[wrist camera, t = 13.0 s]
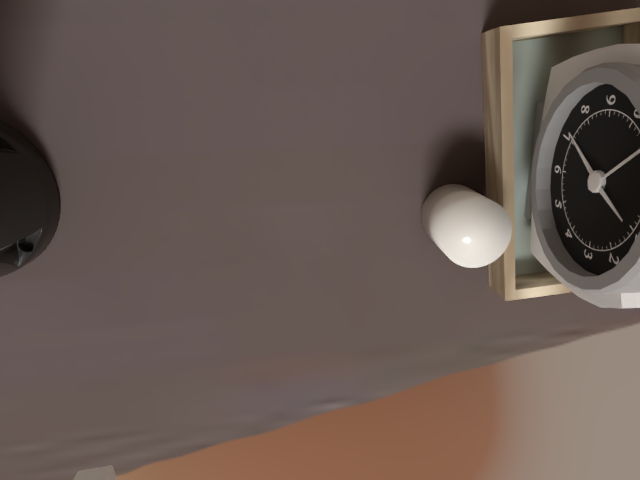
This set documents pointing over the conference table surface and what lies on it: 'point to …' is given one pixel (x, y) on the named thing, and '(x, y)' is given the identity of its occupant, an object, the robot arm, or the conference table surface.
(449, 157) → the conference table surface
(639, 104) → the alarm clock
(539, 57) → the tray
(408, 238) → the conference table surface
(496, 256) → the white rounded cylinder
